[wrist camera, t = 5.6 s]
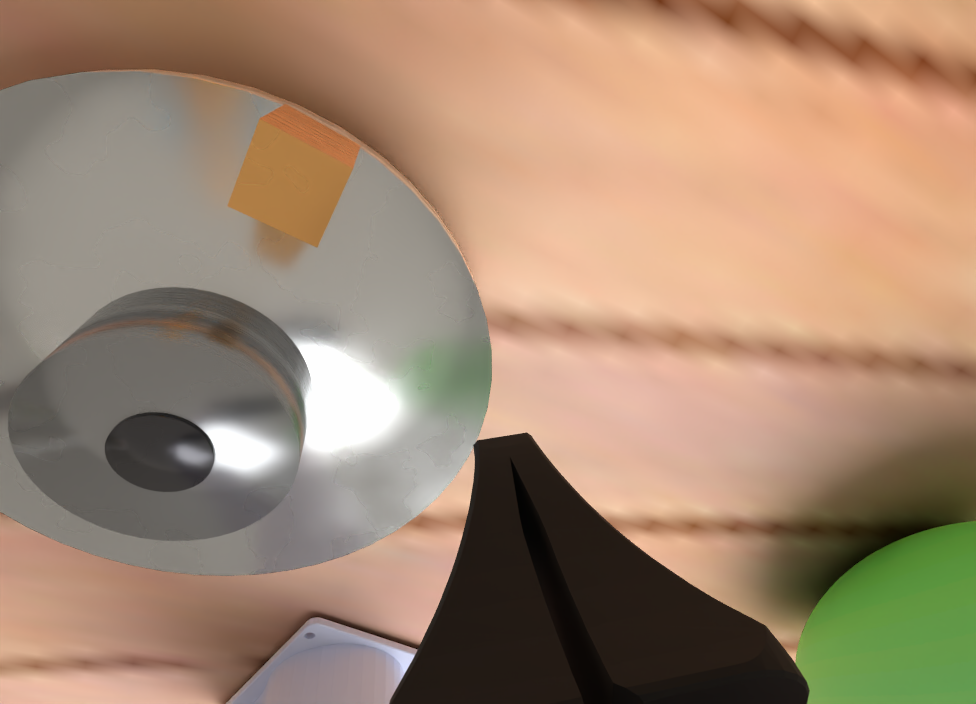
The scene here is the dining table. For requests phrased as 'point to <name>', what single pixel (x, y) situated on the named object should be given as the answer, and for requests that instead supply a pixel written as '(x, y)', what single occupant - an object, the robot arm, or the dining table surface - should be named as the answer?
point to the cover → (166, 416)
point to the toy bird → (898, 625)
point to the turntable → (244, 292)
